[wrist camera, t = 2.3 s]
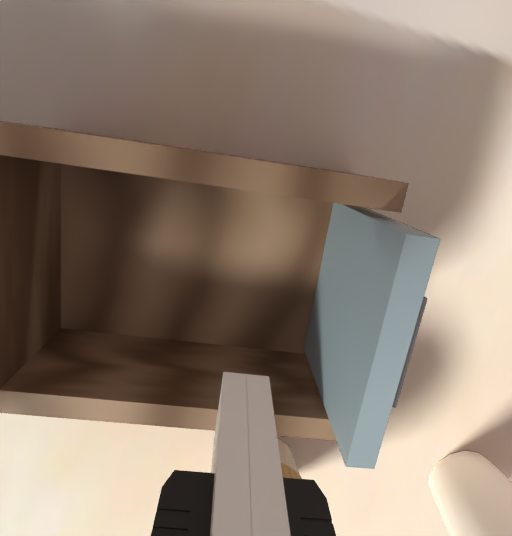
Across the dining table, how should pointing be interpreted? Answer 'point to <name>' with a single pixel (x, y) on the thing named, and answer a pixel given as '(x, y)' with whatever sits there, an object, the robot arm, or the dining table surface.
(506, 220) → the dining table surface
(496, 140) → the dining table surface
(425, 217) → the dining table surface
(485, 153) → the dining table surface
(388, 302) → the blue gray square panel
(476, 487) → the foam cup
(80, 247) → the crate
